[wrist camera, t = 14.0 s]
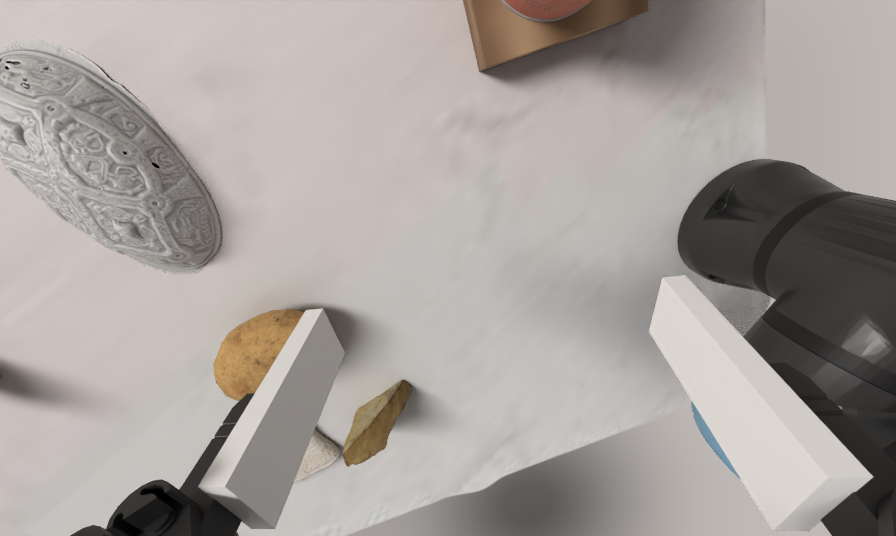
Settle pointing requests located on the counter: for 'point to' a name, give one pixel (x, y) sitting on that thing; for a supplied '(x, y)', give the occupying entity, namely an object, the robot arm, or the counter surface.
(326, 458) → the washcloth
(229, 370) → the potato
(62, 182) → the silver oval dome
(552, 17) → the canned food
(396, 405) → the rock
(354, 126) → the counter surface
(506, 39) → the walnut base
